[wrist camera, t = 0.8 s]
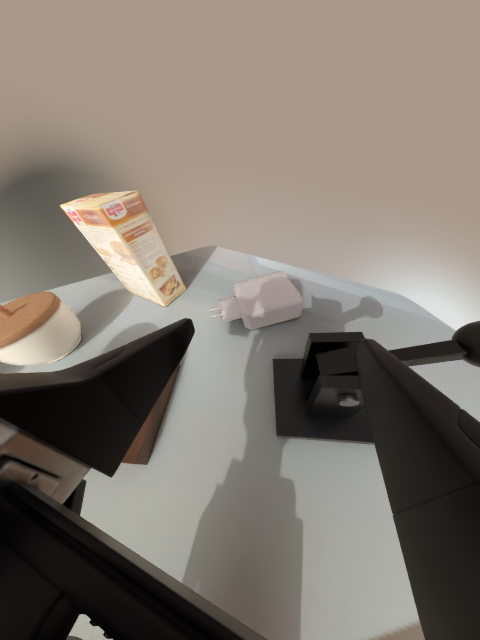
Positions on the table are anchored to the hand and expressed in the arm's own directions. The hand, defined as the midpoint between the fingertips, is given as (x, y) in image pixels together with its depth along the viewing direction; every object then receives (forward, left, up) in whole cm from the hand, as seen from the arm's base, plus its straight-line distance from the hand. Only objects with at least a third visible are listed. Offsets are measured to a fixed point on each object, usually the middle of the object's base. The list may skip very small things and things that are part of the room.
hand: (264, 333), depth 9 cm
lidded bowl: (+10, +41, -16) cm, 45 cm away
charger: (+17, +3, -16) cm, 23 cm away
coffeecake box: (+26, +27, -16) cm, 40 cm away
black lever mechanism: (+2, -6, -16) cm, 17 cm away
